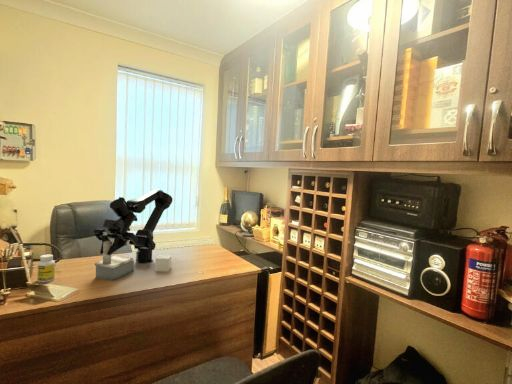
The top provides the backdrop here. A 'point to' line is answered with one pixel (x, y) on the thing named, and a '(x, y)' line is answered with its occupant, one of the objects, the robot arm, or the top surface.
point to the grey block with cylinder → (111, 258)
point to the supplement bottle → (46, 268)
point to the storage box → (114, 271)
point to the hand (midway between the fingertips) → (104, 254)
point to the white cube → (163, 263)
